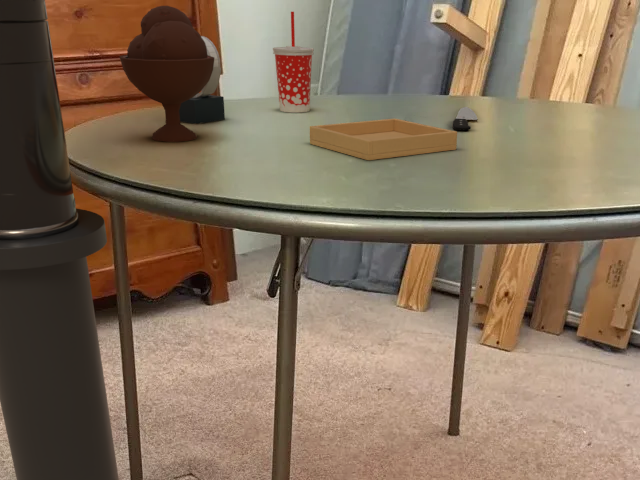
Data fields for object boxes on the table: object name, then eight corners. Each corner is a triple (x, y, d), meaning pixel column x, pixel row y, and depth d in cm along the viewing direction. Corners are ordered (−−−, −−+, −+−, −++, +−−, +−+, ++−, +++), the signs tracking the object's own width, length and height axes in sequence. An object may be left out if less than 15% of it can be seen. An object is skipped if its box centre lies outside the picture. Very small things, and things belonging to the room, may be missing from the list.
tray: (368, 160, 89) (368, 141, 88) (309, 143, 97) (309, 126, 96) (456, 149, 96) (457, 131, 95) (394, 134, 104) (395, 118, 104)
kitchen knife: (472, 131, 108) (472, 127, 108) (449, 130, 108) (450, 127, 108) (479, 107, 128) (479, 104, 128) (461, 107, 129) (461, 103, 128)
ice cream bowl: (113, 136, 99) (96, 4, 93) (191, 128, 106) (182, 4, 99) (154, 148, 92) (140, 7, 86) (235, 139, 99) (228, 7, 92)
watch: (194, 115, 117) (187, 34, 112) (233, 120, 113) (228, 36, 108) (164, 119, 113) (156, 35, 108) (204, 125, 108) (198, 38, 104)
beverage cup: (306, 114, 120) (304, 12, 114) (268, 111, 121) (264, 11, 115) (320, 109, 125) (319, 11, 119) (284, 106, 127) (281, 10, 121)
